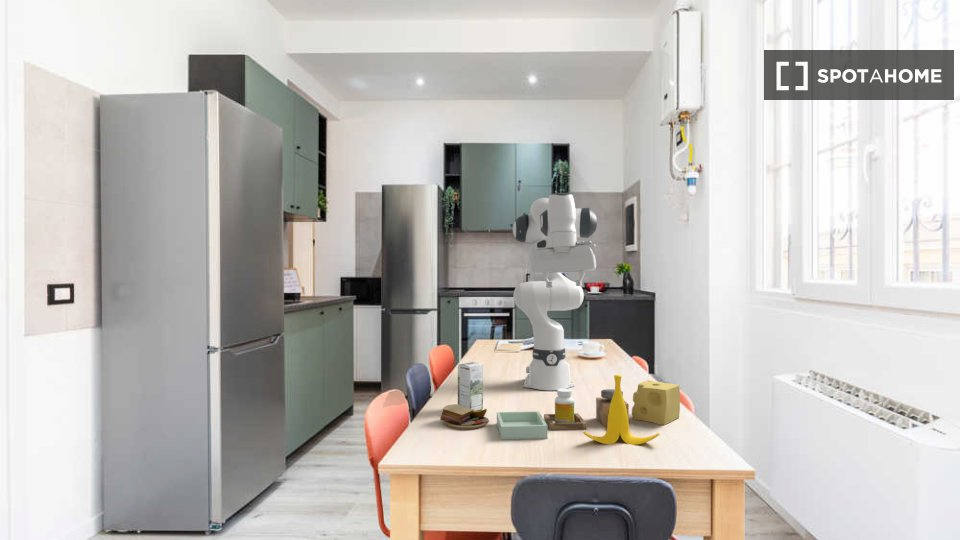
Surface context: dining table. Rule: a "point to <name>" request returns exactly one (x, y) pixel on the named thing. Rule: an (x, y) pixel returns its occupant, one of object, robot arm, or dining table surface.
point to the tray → (521, 425)
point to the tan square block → (606, 406)
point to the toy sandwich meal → (463, 417)
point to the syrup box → (470, 385)
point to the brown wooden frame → (565, 426)
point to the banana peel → (619, 421)
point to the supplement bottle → (564, 406)
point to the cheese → (656, 402)
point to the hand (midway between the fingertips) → (563, 286)
